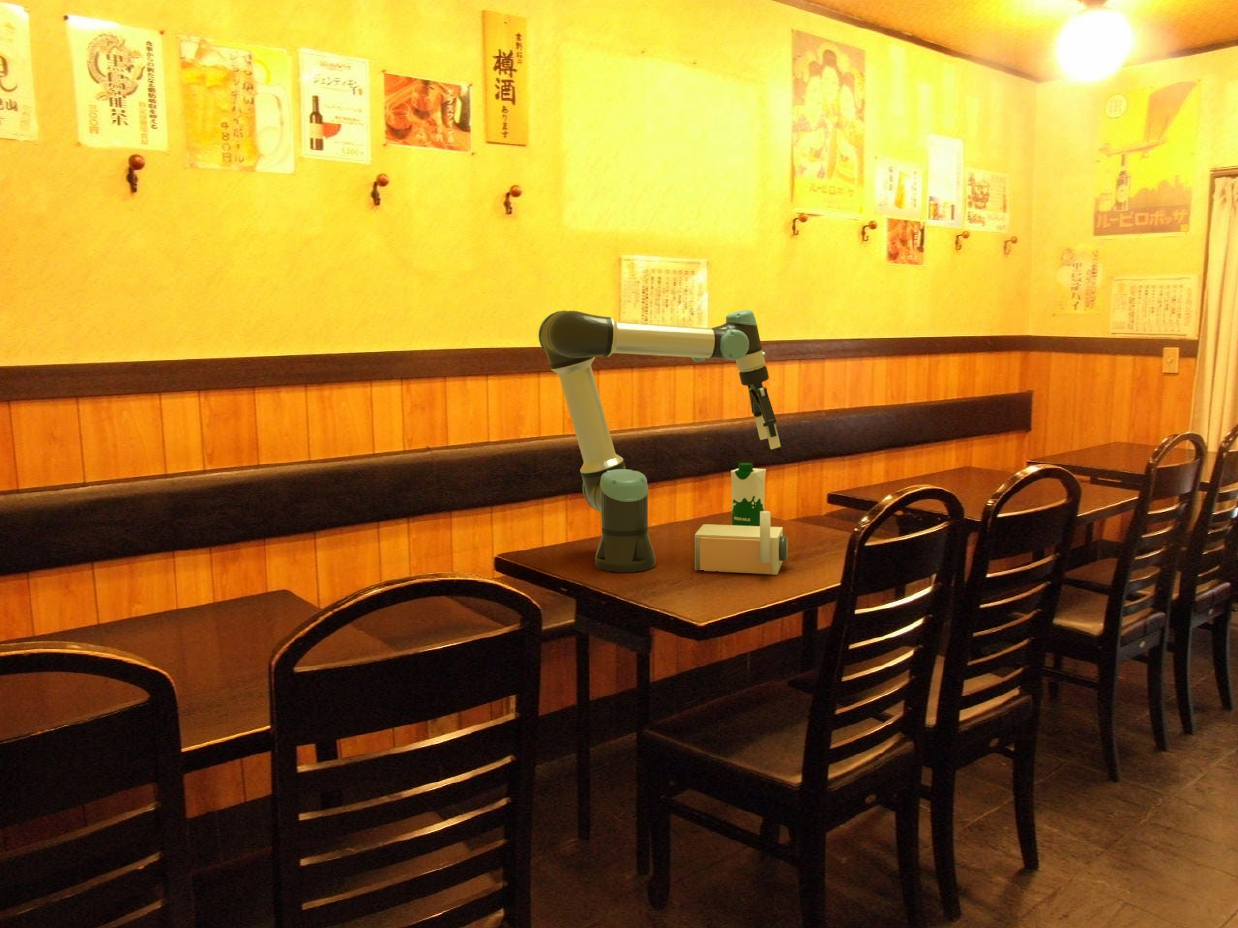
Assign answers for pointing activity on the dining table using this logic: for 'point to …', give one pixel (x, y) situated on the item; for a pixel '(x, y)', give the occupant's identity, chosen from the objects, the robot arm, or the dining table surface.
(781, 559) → the camera body
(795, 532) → the dining table surface
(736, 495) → the milk carton
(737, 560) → the side door
